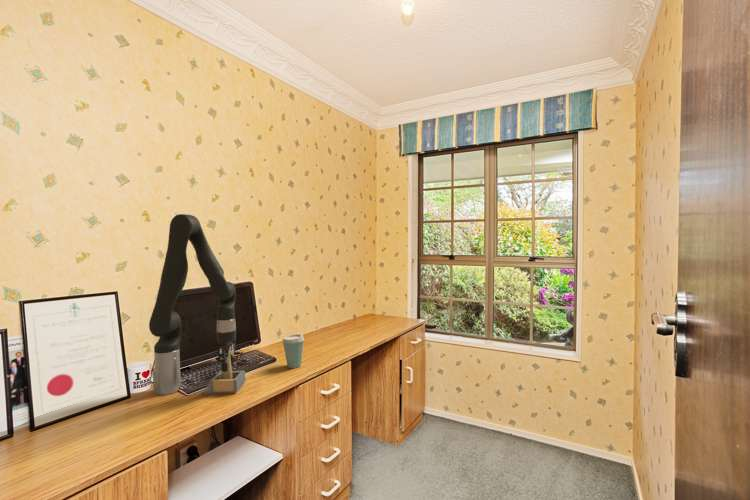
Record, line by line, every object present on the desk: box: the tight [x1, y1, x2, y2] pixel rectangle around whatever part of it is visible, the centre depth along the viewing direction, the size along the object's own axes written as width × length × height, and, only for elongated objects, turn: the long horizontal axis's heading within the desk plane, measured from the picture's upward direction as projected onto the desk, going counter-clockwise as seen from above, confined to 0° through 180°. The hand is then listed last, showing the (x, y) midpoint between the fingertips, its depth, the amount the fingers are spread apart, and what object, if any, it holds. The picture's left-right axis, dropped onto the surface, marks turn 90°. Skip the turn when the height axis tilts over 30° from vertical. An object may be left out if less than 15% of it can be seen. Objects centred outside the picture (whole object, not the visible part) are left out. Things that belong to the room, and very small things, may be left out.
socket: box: [201, 370, 246, 395], centre depth 156 cm, size 14×11×6 cm
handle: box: [221, 350, 234, 379], centre depth 156 cm, size 5×6×15 cm
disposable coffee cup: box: [282, 333, 305, 369], centre depth 183 cm, size 11×11×15 cm
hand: (227, 368), depth 156 cm, fingers open, 6 cm apart
